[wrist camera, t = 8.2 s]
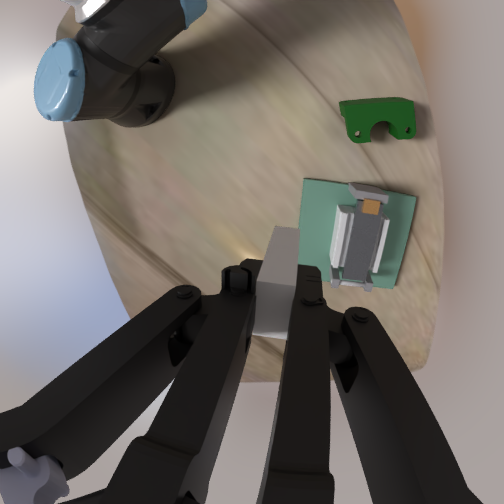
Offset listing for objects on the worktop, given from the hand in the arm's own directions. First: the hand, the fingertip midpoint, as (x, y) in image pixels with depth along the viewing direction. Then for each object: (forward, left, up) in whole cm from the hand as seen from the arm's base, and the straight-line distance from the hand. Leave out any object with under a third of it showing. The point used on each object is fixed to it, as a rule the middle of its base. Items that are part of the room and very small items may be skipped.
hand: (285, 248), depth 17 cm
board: (+9, +11, -30) cm, 34 cm away
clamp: (-12, +12, -31) cm, 35 cm away
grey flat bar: (+7, +11, -24) cm, 27 cm away
